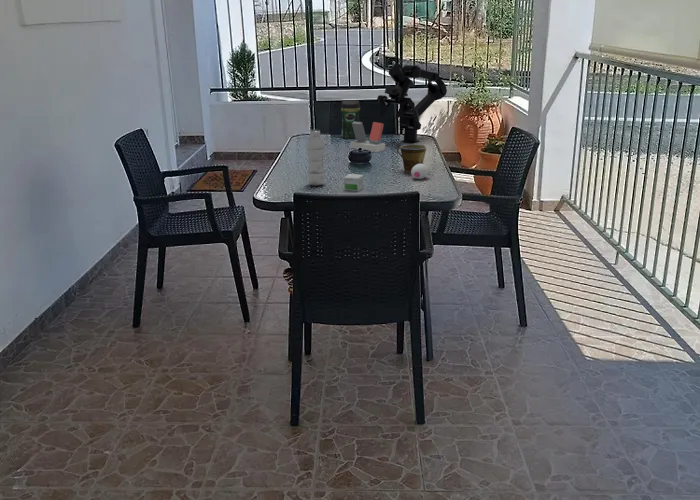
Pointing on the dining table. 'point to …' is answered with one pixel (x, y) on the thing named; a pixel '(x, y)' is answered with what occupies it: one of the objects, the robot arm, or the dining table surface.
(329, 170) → the dining table surface
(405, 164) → the ceramic cup
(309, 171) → the plastic bottle
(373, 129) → the upright red slab
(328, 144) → the dining table surface
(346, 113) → the coffee jar
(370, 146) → the shallow grey tray
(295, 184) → the dining table surface
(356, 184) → the small box
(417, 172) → the stress ball
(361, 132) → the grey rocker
